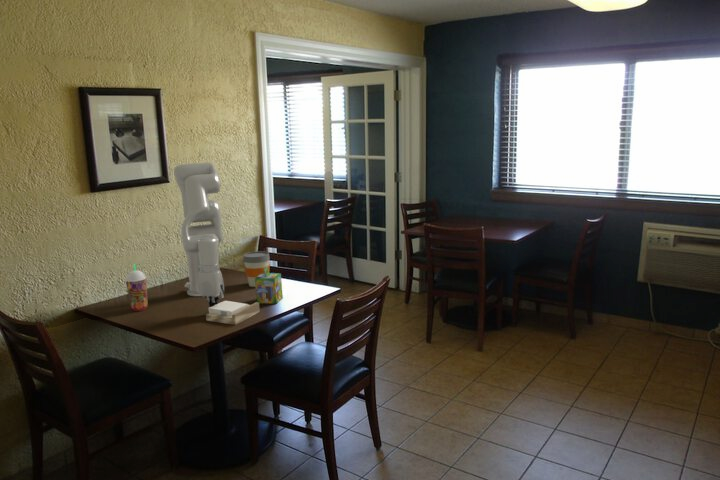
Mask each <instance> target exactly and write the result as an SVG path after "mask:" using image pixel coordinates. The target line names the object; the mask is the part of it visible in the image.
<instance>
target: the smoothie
mask: <svg viewBox="0 0 720 480" xmlns="http://www.w3.org/2000/svg"><path fill="white" fill-rule="evenodd" d="M132 266H133V270H131V271H130V272H128V273H127V275H126V277H125V284H126V288H127V293H128V295H127V296H128V299H129V304H130V308H131V309H132V311H133V312H141V311H145V310H147V308H148V305H149V304H148V301H149V300H148V284H147V276H146V274H145V273H144V272H143V271H141V270H139V269H136V264H135V263H133V265H132Z"/></svg>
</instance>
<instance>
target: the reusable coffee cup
mask: <svg viewBox="0 0 720 480" xmlns="http://www.w3.org/2000/svg"><path fill="white" fill-rule="evenodd" d="M270 259H271V258H270V252H268V251H263V250H261V251H260V250H259V251H249V252H246V253H244V254H243V261H242V262H244V271H245V276H246V277H247V283H248V286H249V287H252V288H256V285H255V278H256V277H257V276H259V275H260V274H262V273H264V269H265V268H266V267H268V270H269V271H270V268H271V267H270V265H271V264H270ZM266 273H268V271H267V270H266Z"/></svg>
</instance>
